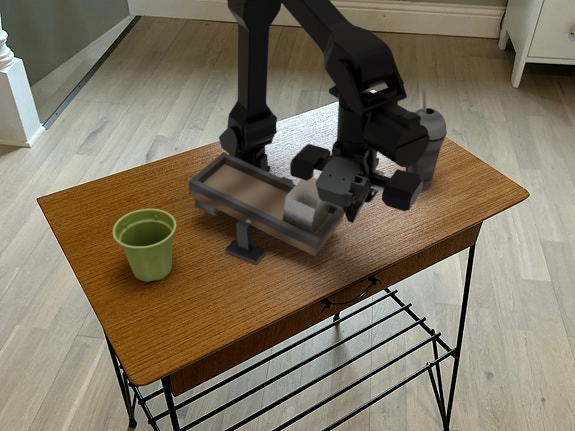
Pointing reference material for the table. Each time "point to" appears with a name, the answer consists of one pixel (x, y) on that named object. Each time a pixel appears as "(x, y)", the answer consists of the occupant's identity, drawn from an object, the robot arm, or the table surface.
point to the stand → (246, 243)
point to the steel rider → (305, 206)
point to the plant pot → (147, 242)
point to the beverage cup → (437, 135)
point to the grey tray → (256, 201)
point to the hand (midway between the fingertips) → (351, 220)
